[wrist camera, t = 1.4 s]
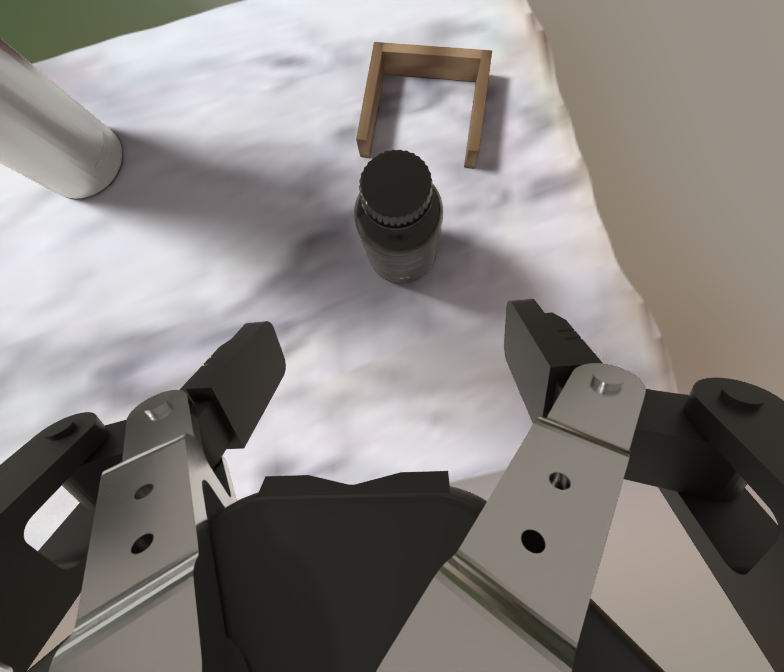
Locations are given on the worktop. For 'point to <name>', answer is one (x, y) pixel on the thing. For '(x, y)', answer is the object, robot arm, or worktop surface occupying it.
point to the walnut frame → (425, 65)
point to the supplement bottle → (399, 215)
